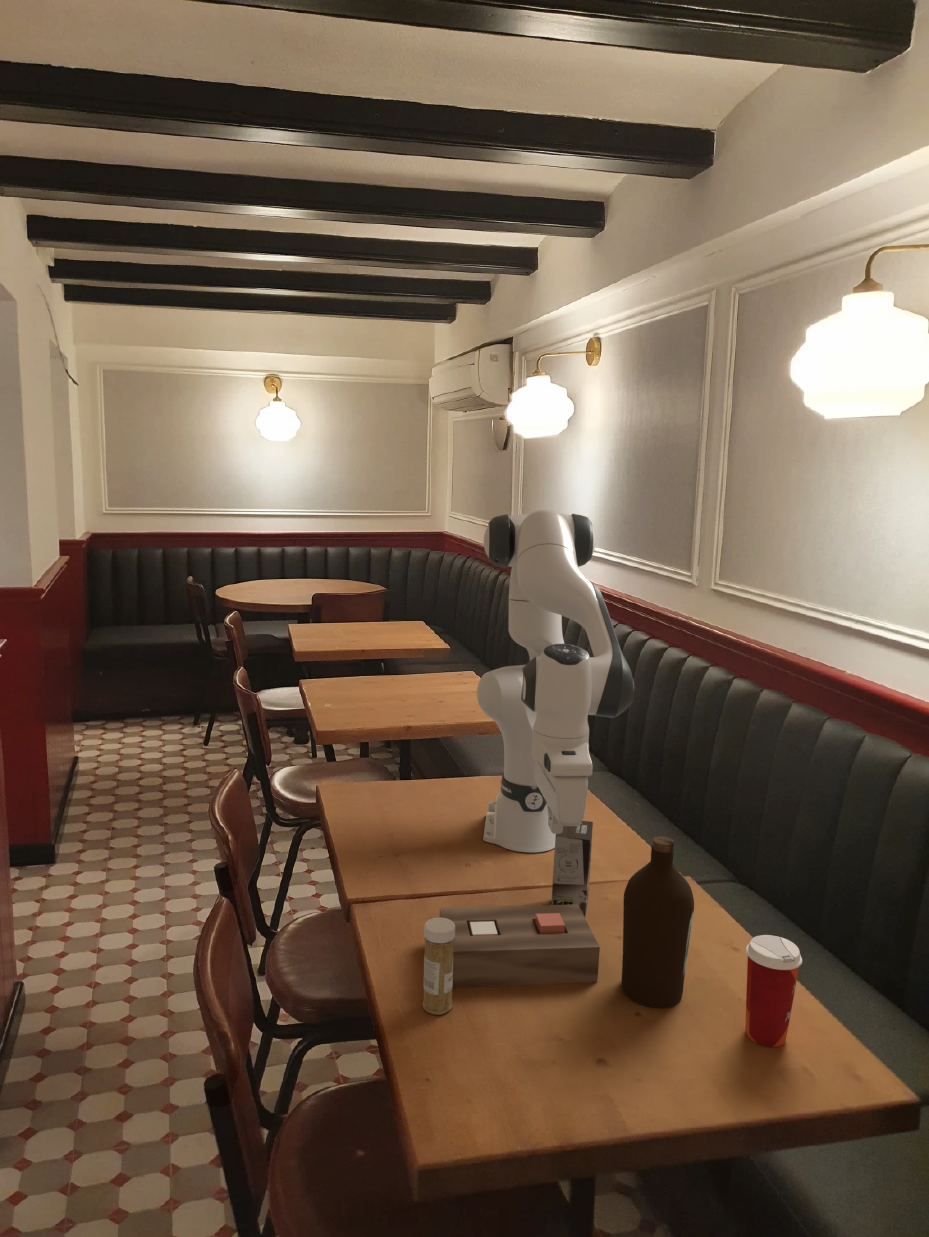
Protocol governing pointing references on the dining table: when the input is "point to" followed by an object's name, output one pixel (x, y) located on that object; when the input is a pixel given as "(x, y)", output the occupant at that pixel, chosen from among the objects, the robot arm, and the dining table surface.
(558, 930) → the red plug
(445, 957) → the spice jar
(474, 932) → the white plug
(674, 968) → the olive oil
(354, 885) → the dining table surface
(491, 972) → the socket block
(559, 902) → the coffee box
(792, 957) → the paper cup
